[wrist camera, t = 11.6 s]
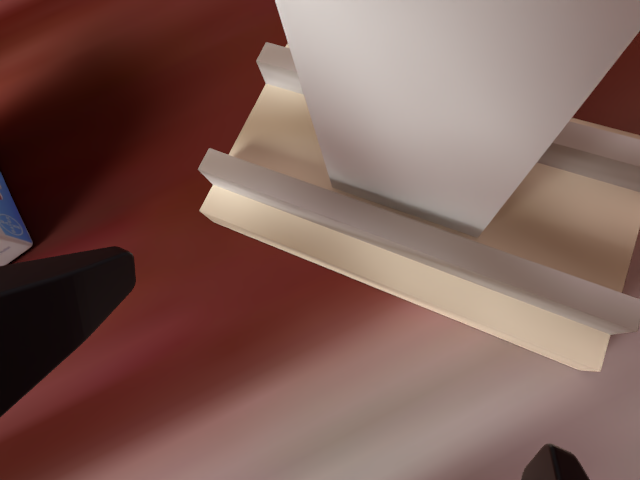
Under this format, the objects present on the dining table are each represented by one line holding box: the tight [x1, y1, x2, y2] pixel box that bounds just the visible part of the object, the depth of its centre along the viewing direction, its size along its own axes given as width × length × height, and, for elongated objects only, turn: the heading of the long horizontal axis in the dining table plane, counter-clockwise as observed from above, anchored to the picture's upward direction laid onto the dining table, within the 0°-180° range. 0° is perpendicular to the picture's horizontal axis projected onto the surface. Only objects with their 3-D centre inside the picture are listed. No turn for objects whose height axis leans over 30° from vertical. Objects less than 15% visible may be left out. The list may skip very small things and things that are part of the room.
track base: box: [198, 42, 640, 372], centre depth 16 cm, size 9×16×3 cm, turn 67°
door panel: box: [275, 0, 640, 238], centre depth 10 cm, size 3×6×13 cm, turn 67°
